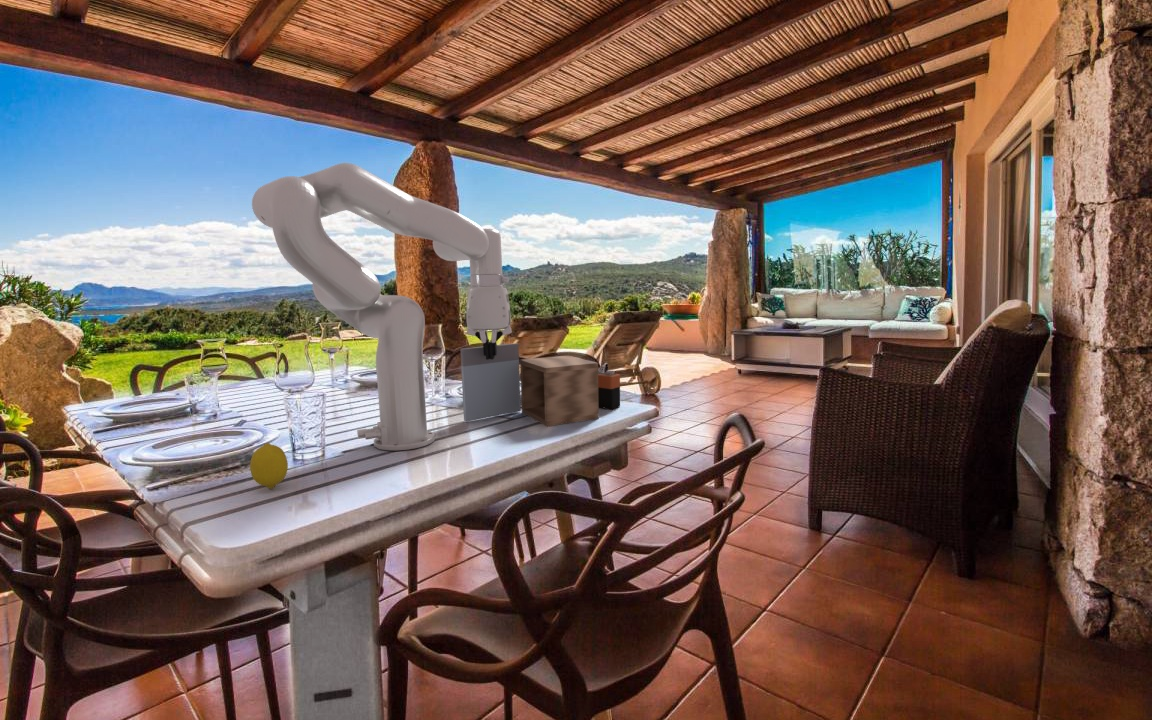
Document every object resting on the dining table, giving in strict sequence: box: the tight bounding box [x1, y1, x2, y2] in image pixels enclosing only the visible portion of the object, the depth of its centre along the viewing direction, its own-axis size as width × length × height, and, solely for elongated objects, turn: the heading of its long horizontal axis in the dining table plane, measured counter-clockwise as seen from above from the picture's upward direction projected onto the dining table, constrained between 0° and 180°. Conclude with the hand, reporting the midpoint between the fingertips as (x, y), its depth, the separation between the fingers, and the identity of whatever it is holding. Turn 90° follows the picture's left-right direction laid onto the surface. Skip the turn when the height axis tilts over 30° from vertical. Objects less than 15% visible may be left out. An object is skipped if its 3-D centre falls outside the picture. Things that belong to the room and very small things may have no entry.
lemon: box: [249, 442, 289, 490], centre depth 93 cm, size 6×6×8 cm
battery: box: [598, 369, 621, 410], centre depth 148 cm, size 4×7×10 cm, turn 51°
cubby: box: [519, 355, 600, 427], centre depth 139 cm, size 14×16×14 cm
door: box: [459, 342, 522, 422], centre depth 138 cm, size 1×16×18 cm, turn 129°
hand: (490, 358), depth 133 cm, fingers closed
